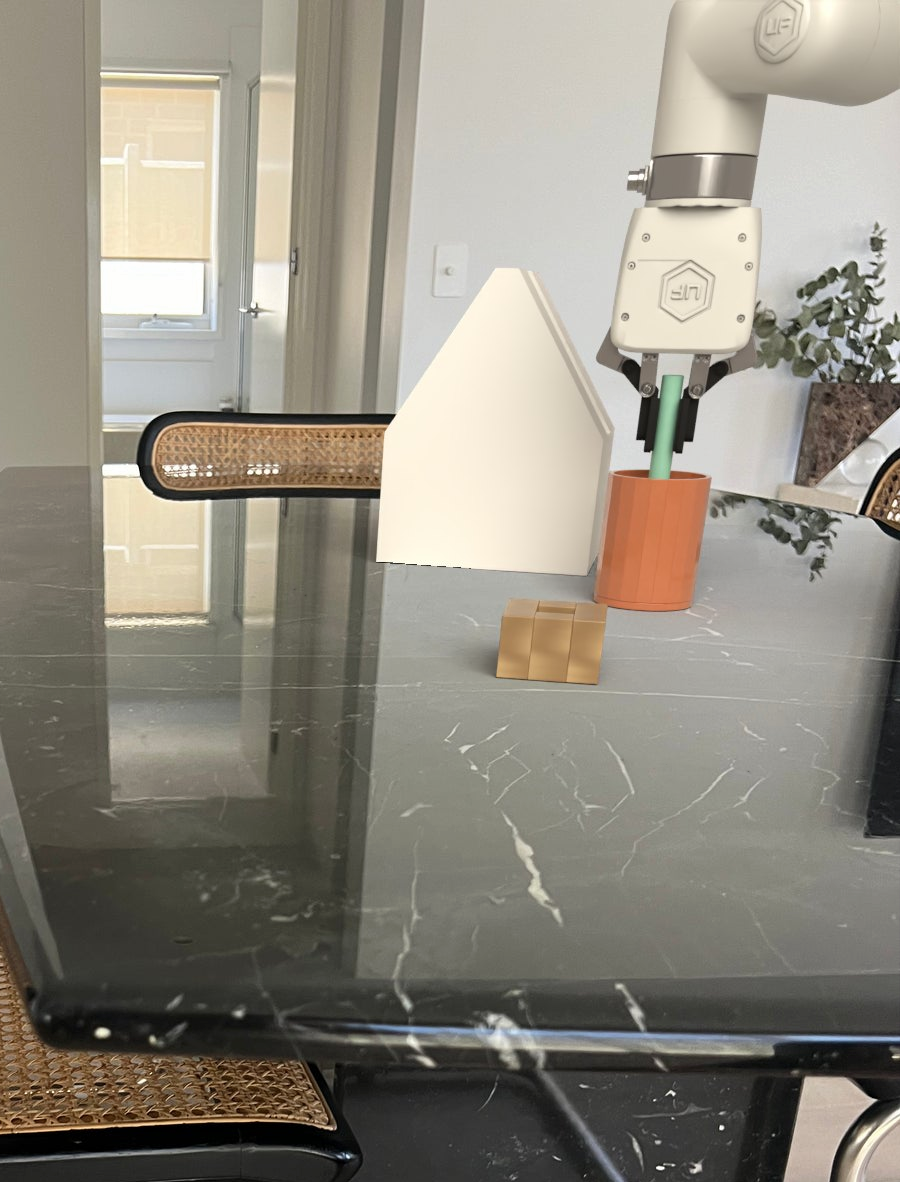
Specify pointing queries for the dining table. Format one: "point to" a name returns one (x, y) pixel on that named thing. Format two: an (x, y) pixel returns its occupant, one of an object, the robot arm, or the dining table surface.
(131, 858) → the dining table surface
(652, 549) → the cup
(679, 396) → the straw
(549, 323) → the white house shaped block
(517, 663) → the straw holder
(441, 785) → the dining table surface
